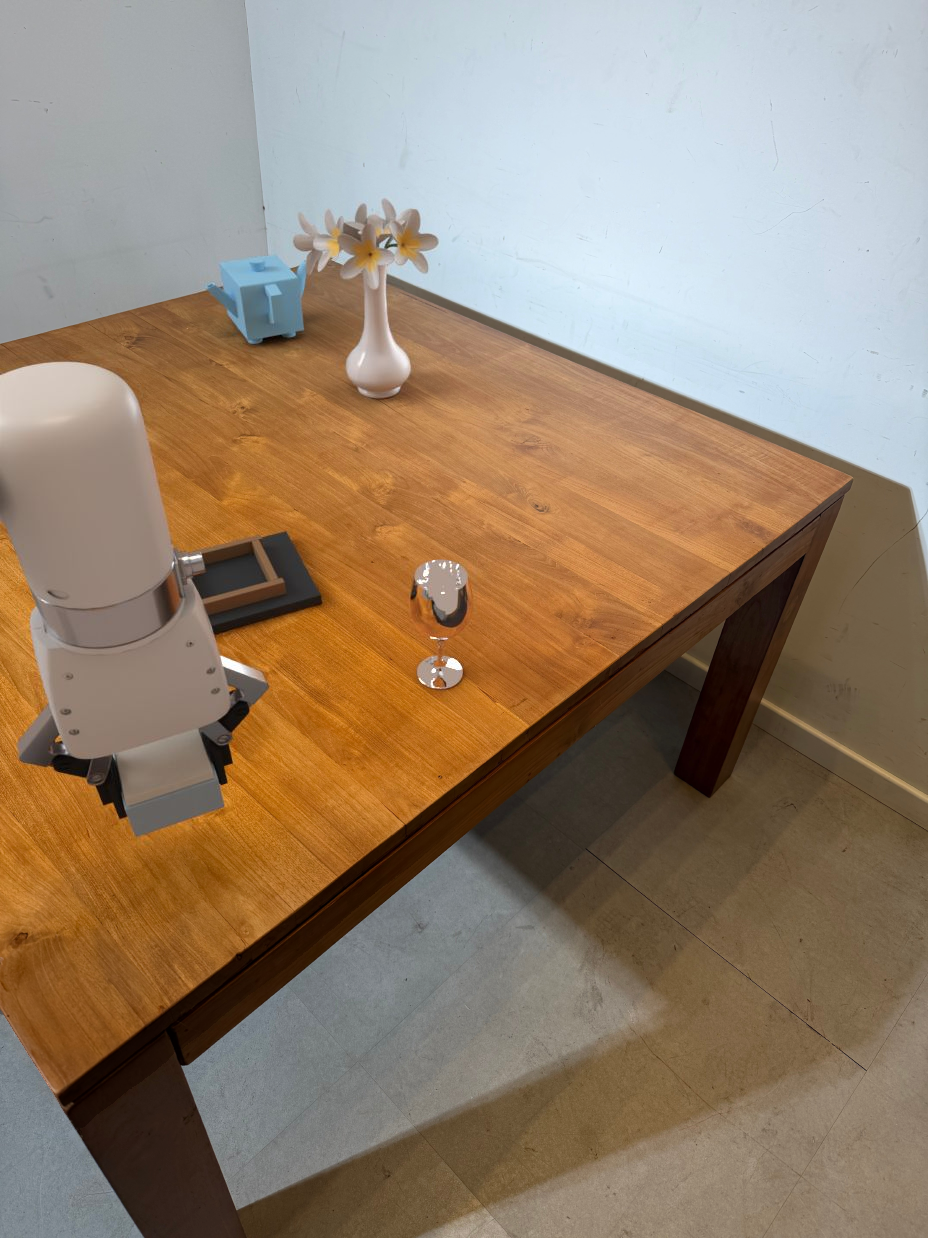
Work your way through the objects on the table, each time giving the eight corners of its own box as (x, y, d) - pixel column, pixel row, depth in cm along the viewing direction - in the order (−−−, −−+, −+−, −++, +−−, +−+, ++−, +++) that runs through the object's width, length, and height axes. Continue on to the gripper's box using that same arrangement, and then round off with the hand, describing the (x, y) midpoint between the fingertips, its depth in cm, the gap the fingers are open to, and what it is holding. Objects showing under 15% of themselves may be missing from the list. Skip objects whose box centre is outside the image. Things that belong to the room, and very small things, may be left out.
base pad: (165, 648, 81) (159, 627, 79) (142, 576, 89) (136, 555, 87) (322, 603, 87) (319, 583, 85) (287, 539, 94) (284, 519, 93)
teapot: (201, 321, 136) (188, 249, 128) (306, 303, 143) (299, 234, 135) (230, 361, 126) (217, 286, 118) (341, 340, 132) (336, 267, 125)
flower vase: (319, 366, 126) (302, 186, 109) (441, 372, 125) (443, 193, 108) (302, 408, 116) (280, 218, 99) (433, 415, 116) (434, 226, 99)
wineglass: (417, 699, 77) (416, 603, 69) (403, 656, 81) (401, 560, 73) (476, 688, 78) (482, 592, 70) (460, 646, 83) (464, 551, 74)
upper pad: (135, 838, 56) (122, 803, 53) (120, 772, 60) (107, 735, 57) (225, 807, 58) (216, 772, 55) (204, 745, 62) (195, 709, 59)
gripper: (245, 519, 52) (275, 711, 64) (-66, 588, 46) (32, 786, 58) (281, 591, 47) (306, 785, 59) (-62, 680, 41) (44, 875, 53)
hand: (170, 784), depth 58 cm, fingers closed on upper pad, 6 cm apart
